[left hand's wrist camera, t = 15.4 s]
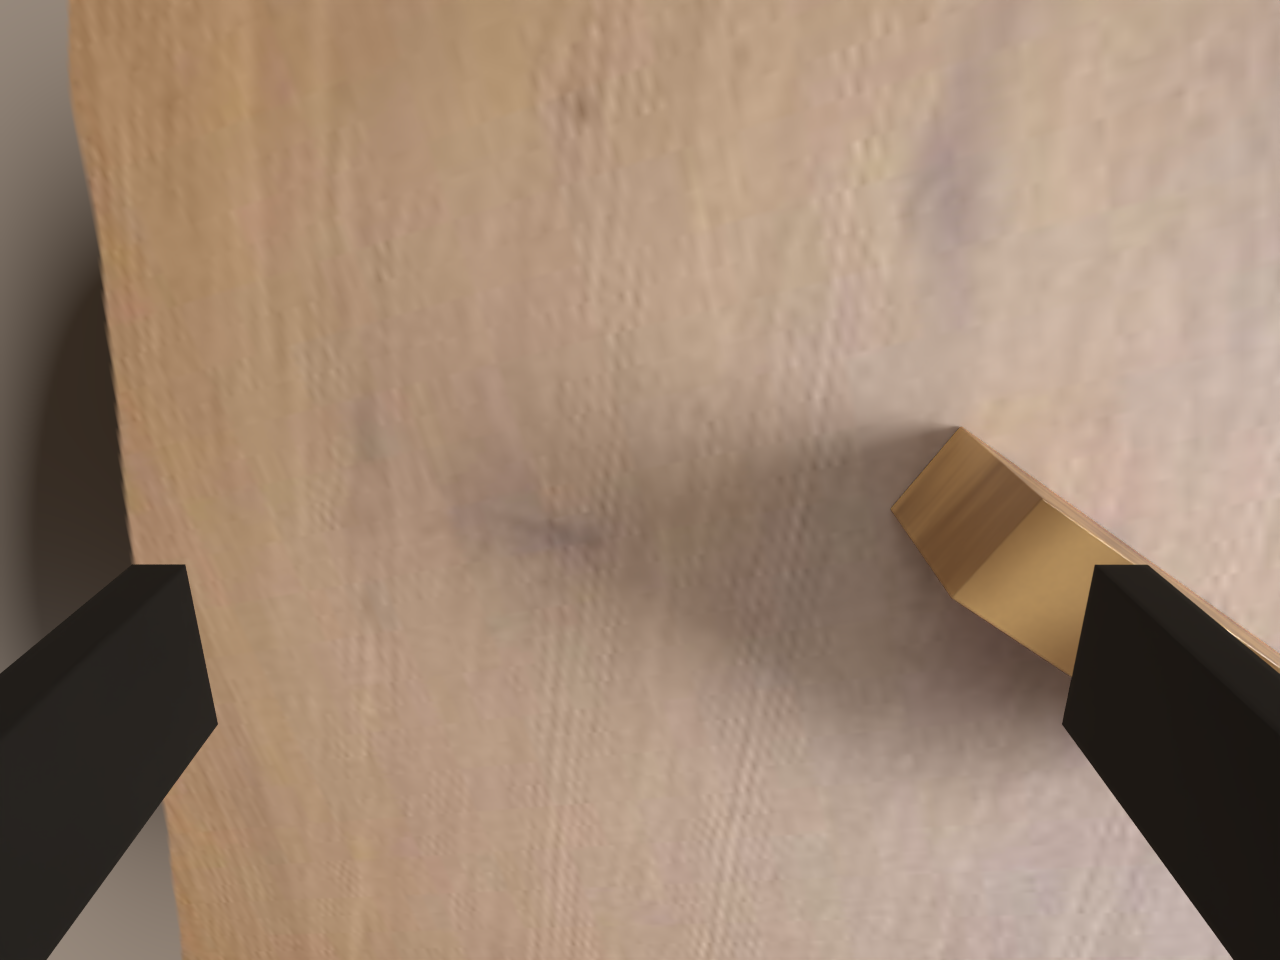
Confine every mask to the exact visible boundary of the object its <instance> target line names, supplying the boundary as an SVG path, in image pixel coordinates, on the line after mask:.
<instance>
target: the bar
mask: <svg viewBox="0 0 1280 960" xmlns="http://www.w3.org/2000/svg"><path fill="white" fill-rule="evenodd" d="M891 511H892V512H893V514H894V515H895V516H896V518H897V519H898V521H899V522H900V524H901V525H902V527H903V528H904V530H905V531H906V533H907V534H908V535H909V537H910V538H911V540H912V541H913V543H914V544H915V546H916V547H917V549H918V550H919V551H920V553H921V554H922V556H923V557H924V559H925V560H926V562H927V563H928V565H929V566H930V567H931V569H932V570H933V572H934V573H935V575H936V576H937V578H938V579H939V581H940V582H941V584H942V585H943V586H944V588H945V589H946V591H947V592H948V594H949V595H950V597H951V598H952V599H953V600H955V601H956V602H958V603H959V604H961V605H962V606H964V607H966V608H967V609H969V610H970V611H972V612H973V613H975V614H976V615H978V616H979V617H981V618H982V619H984V620H985V621H987V622H988V623H990V624H991V625H993V626H994V627H996V628H997V629H999V630H1000V631H1002V632H1003V633H1005V634H1006V635H1008V636H1009V637H1011V638H1012V639H1014V640H1015V641H1017V642H1018V643H1020V644H1022V645H1023V646H1025V647H1026V648H1028V649H1029V650H1031V651H1032V652H1034V653H1035V654H1037V655H1038V656H1040V657H1041V658H1043V659H1044V660H1046V661H1047V662H1049V663H1050V664H1052V665H1053V666H1055V667H1056V668H1058V669H1059V670H1061V671H1062V672H1064V673H1065V674H1067V675H1068V676H1070V677H1071V678H1072V674H1073V669H1074V664H1075V659H1076V654H1077V649H1078V644H1079V639H1080V634H1081V630H1082V625H1083V620H1084V615H1085V610H1086V605H1087V600H1088V595H1089V590H1090V586H1091V581H1092V576H1093V571H1094V566H1095V565H1149V566H1150V567H1151V568H1153V569H1154V570H1155V571H1156V572H1157V573H1159V574H1160V575H1161V576H1162V577H1163V578H1165V579H1166V580H1167V581H1168V582H1169V583H1171V584H1172V585H1173V586H1174V587H1176V588H1177V589H1178V590H1179V591H1180V592H1182V593H1183V594H1184V595H1185V596H1186V597H1188V598H1189V599H1190V600H1191V601H1192V602H1194V603H1195V604H1196V605H1197V606H1198V607H1200V608H1201V609H1202V610H1203V611H1205V612H1206V613H1207V614H1208V615H1209V616H1211V617H1212V618H1213V619H1214V620H1215V621H1217V622H1218V623H1219V624H1220V625H1221V626H1223V627H1224V628H1225V629H1226V630H1227V631H1229V632H1230V633H1231V634H1232V635H1234V636H1235V637H1236V638H1237V639H1238V640H1240V641H1241V642H1242V643H1243V644H1244V645H1246V646H1247V647H1248V648H1249V649H1250V650H1252V651H1253V652H1254V653H1255V654H1256V655H1258V656H1259V657H1260V658H1261V659H1263V660H1264V661H1265V662H1266V663H1267V664H1269V665H1270V666H1271V667H1272V668H1273V669H1275V670H1276V671H1277V672H1278V673H1279V674H1280V654H1279V653H1278V652H1276V651H1275V650H1274V649H1272V648H1271V647H1269V646H1268V645H1267V644H1265V643H1264V642H1262V641H1261V640H1260V639H1258V638H1257V637H1255V636H1254V635H1253V634H1251V633H1250V632H1248V631H1247V630H1246V629H1244V628H1243V627H1241V626H1240V625H1239V624H1237V623H1236V622H1234V621H1233V620H1232V619H1230V618H1229V617H1227V616H1226V615H1225V614H1223V613H1222V612H1220V611H1219V610H1218V609H1216V608H1215V607H1213V606H1212V605H1211V604H1209V603H1208V602H1206V601H1205V600H1204V599H1202V598H1201V597H1199V596H1198V595H1197V594H1195V593H1194V592H1192V591H1191V590H1190V589H1188V588H1187V587H1185V586H1184V585H1183V584H1181V583H1180V582H1178V581H1177V580H1176V579H1174V578H1173V577H1171V576H1170V575H1169V574H1167V573H1166V572H1164V571H1163V570H1162V569H1160V568H1159V567H1157V566H1156V565H1155V564H1153V563H1152V562H1150V561H1149V560H1148V559H1146V558H1145V557H1143V556H1142V555H1141V554H1139V553H1138V552H1136V551H1135V550H1134V549H1132V548H1131V547H1129V546H1128V545H1127V544H1125V543H1124V542H1122V541H1121V540H1120V539H1118V538H1117V537H1115V536H1114V535H1113V534H1111V533H1110V532H1108V531H1107V530H1106V529H1104V528H1103V527H1101V526H1100V525H1099V524H1097V523H1096V522H1094V521H1093V520H1092V519H1090V518H1089V517H1087V516H1086V515H1085V514H1083V513H1082V512H1081V511H1079V510H1078V509H1076V508H1075V507H1074V506H1072V505H1071V504H1069V503H1068V502H1067V501H1065V500H1064V499H1062V498H1061V497H1060V496H1058V495H1057V494H1055V493H1054V492H1053V491H1051V490H1050V489H1048V488H1047V487H1046V486H1044V485H1043V484H1041V483H1040V482H1039V481H1037V480H1036V479H1034V478H1033V477H1032V476H1030V475H1029V474H1027V473H1026V472H1025V471H1023V470H1022V469H1020V468H1019V467H1018V466H1016V465H1015V464H1013V463H1012V462H1011V461H1009V460H1008V459H1006V458H1005V457H1004V456H1002V455H1001V454H999V453H998V452H997V451H995V450H994V449H992V448H991V447H990V446H988V445H987V444H985V443H984V442H983V441H981V440H980V439H978V438H977V437H976V436H974V435H973V434H971V433H970V432H969V431H967V430H966V429H964V428H963V427H960V428H959V429H958V430H957V431H956V432H955V434H954V435H953V436H952V437H951V438H950V439H949V441H948V442H947V443H946V444H945V445H944V446H943V448H942V449H941V450H940V451H939V452H938V454H937V455H936V456H935V457H934V458H933V459H932V461H931V462H930V463H929V464H928V465H927V467H926V468H925V469H924V470H923V471H922V472H921V474H920V475H919V476H918V477H917V478H916V479H915V481H914V482H913V483H912V484H911V485H910V487H909V488H908V489H907V490H906V491H905V492H904V494H903V495H902V496H901V497H900V498H899V500H898V501H897V502H896V503H895V504H894V505H893V507H892V508H891Z"/></svg>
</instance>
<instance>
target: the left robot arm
mask: <svg viewBox="0 0 1280 960" xmlns="http://www.w3.org/2000/svg"><path fill="white" fill-rule="evenodd" d="M217 725H218V722H217V718H216V713H215V708H214V703H213V698H212V693H211V688H210V683H209V678H208V674H207V669H206V664H205V659H204V654H203V649H202V644H201V639H200V634H199V630H198V625H197V620H196V615H195V610H194V605H193V600H192V595H191V590H190V586H189V581H188V576H187V571H186V566H185V565H131V566H130V567H129V568H127V569H126V570H125V571H124V572H123V573H121V574H120V575H119V576H118V577H117V578H115V579H114V580H113V581H112V582H111V583H109V584H108V585H107V586H106V587H104V588H103V589H102V590H101V591H100V592H98V593H97V594H96V595H95V596H94V597H92V598H91V599H90V600H89V601H88V602H86V603H85V604H84V605H83V606H82V607H80V608H79V609H78V610H77V611H75V612H74V613H73V614H72V615H71V616H69V617H68V618H67V619H66V620H65V621H63V622H62V623H61V624H60V625H59V626H57V627H56V628H55V629H54V630H53V631H51V632H50V633H49V634H48V635H46V636H45V637H44V638H43V639H42V640H40V641H39V642H38V643H37V644H36V645H34V646H33V647H32V648H31V649H30V650H28V651H27V652H26V653H25V654H24V655H22V656H21V657H20V658H19V659H17V660H16V661H15V662H14V663H13V664H11V665H10V666H9V667H8V668H7V669H5V670H4V671H3V672H2V673H1V674H0V960H47V958H48V957H49V955H50V954H51V953H52V951H53V950H54V949H55V947H56V946H57V944H58V943H59V942H60V940H61V939H62V938H63V936H64V935H65V934H66V932H67V931H68V929H69V928H70V927H71V925H72V924H73V923H74V921H75V920H76V918H77V917H78V916H79V914H80V913H81V912H82V910H83V909H84V907H85V906H86V905H87V903H88V902H89V900H90V899H91V898H92V896H93V895H94V894H95V892H96V891H97V890H98V888H99V887H100V885H101V884H102V883H103V881H104V880H105V879H106V877H107V876H108V874H109V873H110V872H111V870H112V869H113V868H114V866H115V865H116V863H117V862H118V861H119V859H120V858H121V857H122V855H123V854H124V852H125V851H126V850H127V848H128V847H129V846H130V844H131V843H132V841H133V840H134V839H135V837H136V836H137V835H138V833H139V832H140V831H141V829H142V828H143V826H144V825H145V824H146V822H147V821H148V819H149V818H150V817H151V815H152V814H153V813H154V811H155V810H156V809H157V807H158V806H159V804H160V803H161V802H162V800H163V799H164V798H165V796H166V795H167V793H168V792H169V791H170V789H171V788H172V787H173V785H174V784H175V782H176V781H177V780H178V778H179V777H180V776H181V774H182V773H183V771H184V770H185V769H186V767H187V766H188V765H189V763H190V762H191V760H192V759H193V758H194V756H195V755H196V754H197V752H198V751H199V749H200V748H201V747H202V745H203V744H204V743H205V741H206V740H207V738H208V737H209V736H210V734H211V733H212V732H213V730H214V729H215V727H216V726H217ZM1062 725H1063V726H1064V727H1065V729H1066V730H1067V732H1068V733H1069V734H1070V736H1071V737H1072V738H1073V740H1074V741H1075V743H1076V744H1077V745H1078V747H1079V748H1080V749H1081V751H1082V752H1083V754H1084V755H1085V756H1086V758H1087V759H1088V760H1089V762H1090V763H1091V765H1092V766H1093V767H1094V769H1095V770H1096V771H1097V773H1098V774H1099V776H1100V777H1101V778H1102V780H1103V781H1104V782H1105V784H1106V785H1107V787H1108V788H1109V789H1110V791H1111V792H1112V793H1113V795H1114V796H1115V798H1116V799H1117V800H1118V802H1119V803H1120V804H1121V806H1122V807H1123V809H1124V810H1125V811H1126V813H1127V814H1128V815H1129V817H1130V818H1131V820H1132V821H1133V822H1134V824H1135V825H1136V826H1137V828H1138V829H1139V831H1140V832H1141V833H1142V835H1143V836H1144V837H1145V839H1146V840H1147V842H1148V843H1149V844H1150V846H1151V847H1152V848H1153V850H1154V851H1155V853H1156V854H1157V855H1158V857H1159V858H1160V859H1161V861H1162V862H1163V863H1164V865H1165V866H1166V868H1167V869H1168V870H1169V872H1170V873H1171V874H1172V876H1173V877H1174V879H1175V880H1176V881H1177V883H1178V884H1179V885H1180V887H1181V888H1182V890H1183V891H1184V892H1185V894H1186V895H1187V896H1188V898H1189V899H1190V901H1191V902H1192V903H1193V905H1194V906H1195V907H1196V909H1197V910H1198V912H1199V913H1200V914H1201V916H1202V917H1203V918H1204V920H1205V921H1206V923H1207V924H1208V925H1209V927H1210V928H1211V929H1212V931H1213V932H1214V934H1215V935H1216V936H1217V938H1218V939H1219V940H1220V942H1221V943H1222V945H1223V946H1224V947H1225V949H1226V950H1227V951H1228V953H1229V954H1230V956H1231V957H1232V958H1233V960H1280V674H1279V673H1278V672H1277V671H1276V670H1275V669H1273V668H1272V667H1271V666H1270V665H1269V664H1267V663H1266V662H1265V661H1264V660H1263V659H1261V658H1260V657H1259V656H1258V655H1256V654H1255V653H1254V652H1253V651H1252V650H1250V649H1249V648H1248V647H1247V646H1246V645H1244V644H1243V643H1242V642H1241V641H1240V640H1238V639H1237V638H1236V637H1235V636H1234V635H1232V634H1231V633H1230V632H1229V631H1227V630H1226V629H1225V628H1224V627H1223V626H1221V625H1220V624H1219V623H1218V622H1217V621H1215V620H1214V619H1213V618H1212V617H1211V616H1209V615H1208V614H1207V613H1206V612H1205V611H1203V610H1202V609H1201V608H1200V607H1198V606H1197V605H1196V604H1195V603H1194V602H1192V601H1191V600H1190V599H1189V598H1188V597H1186V596H1185V595H1184V594H1183V593H1182V592H1180V591H1179V590H1178V589H1177V588H1176V587H1174V586H1173V585H1172V584H1171V583H1169V582H1168V581H1167V580H1166V579H1165V578H1163V577H1162V576H1161V575H1160V574H1159V573H1157V572H1156V571H1155V570H1154V569H1153V568H1151V567H1150V566H1149V565H1095V566H1094V571H1093V576H1092V581H1091V586H1090V590H1089V595H1088V600H1087V605H1086V610H1085V615H1084V620H1083V625H1082V630H1081V634H1080V639H1079V644H1078V649H1077V654H1076V659H1075V664H1074V669H1073V674H1072V678H1071V683H1070V688H1069V693H1068V698H1067V703H1066V708H1065V713H1064V718H1063V722H1062Z"/></svg>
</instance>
